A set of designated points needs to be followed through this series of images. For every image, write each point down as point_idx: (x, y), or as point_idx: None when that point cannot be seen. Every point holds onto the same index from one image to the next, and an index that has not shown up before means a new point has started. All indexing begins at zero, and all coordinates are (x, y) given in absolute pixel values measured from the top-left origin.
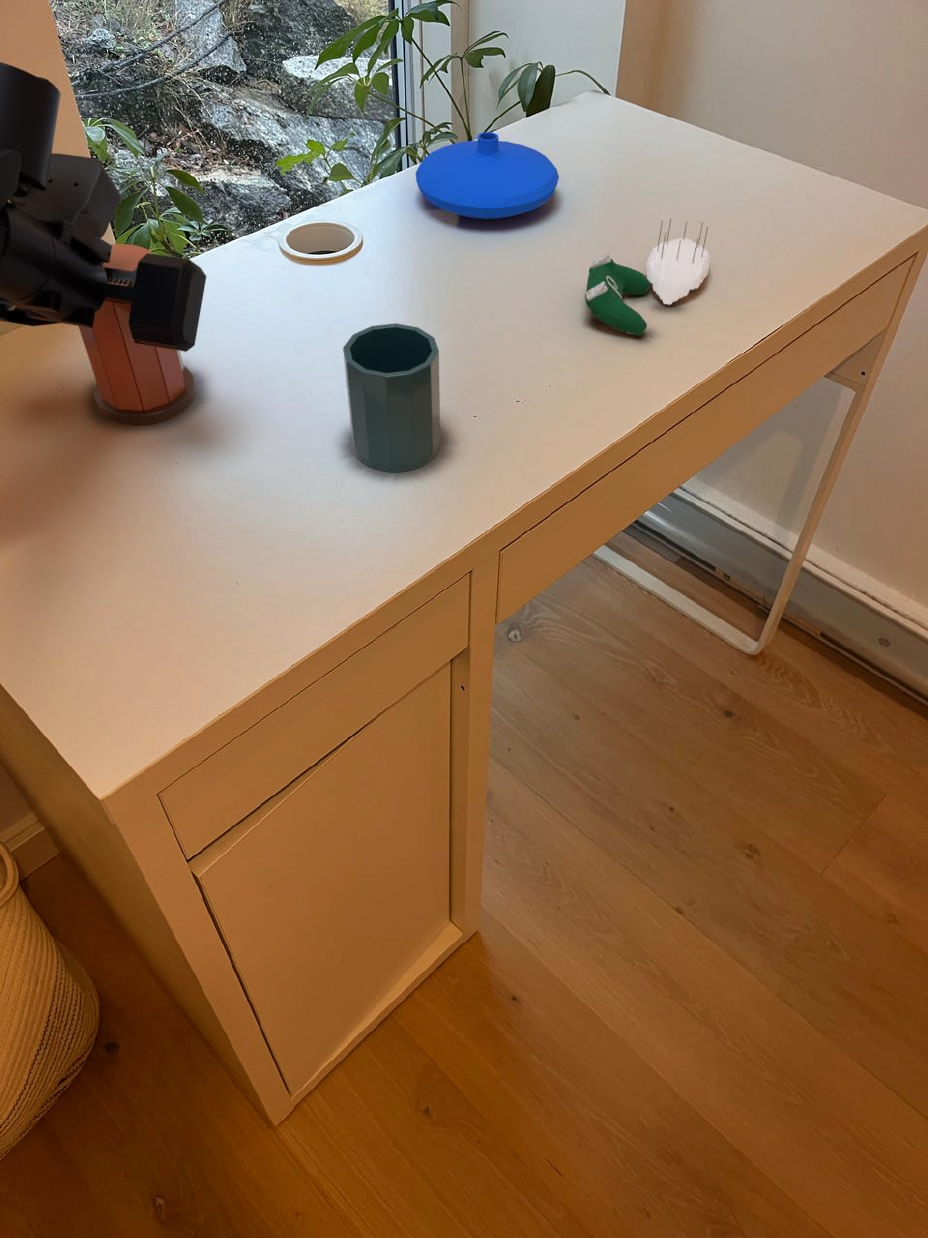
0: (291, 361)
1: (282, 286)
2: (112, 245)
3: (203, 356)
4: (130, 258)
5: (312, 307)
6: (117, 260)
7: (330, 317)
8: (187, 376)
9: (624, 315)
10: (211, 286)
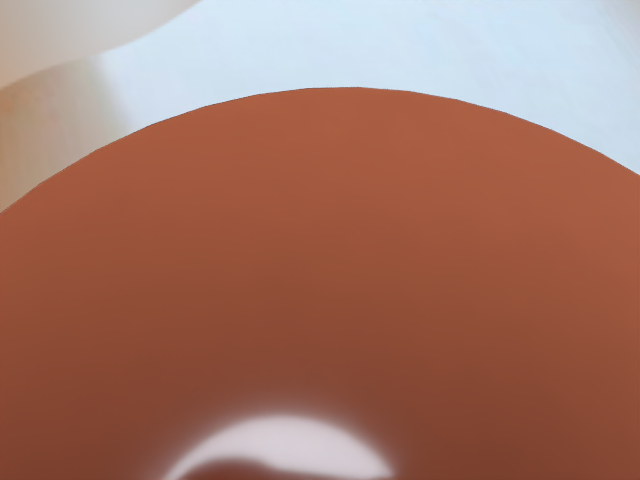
0: None
1: (432, 43)
2: (272, 110)
3: None
4: (571, 323)
5: (523, 102)
6: (461, 384)
7: (575, 131)
8: None
9: None
10: (287, 43)
